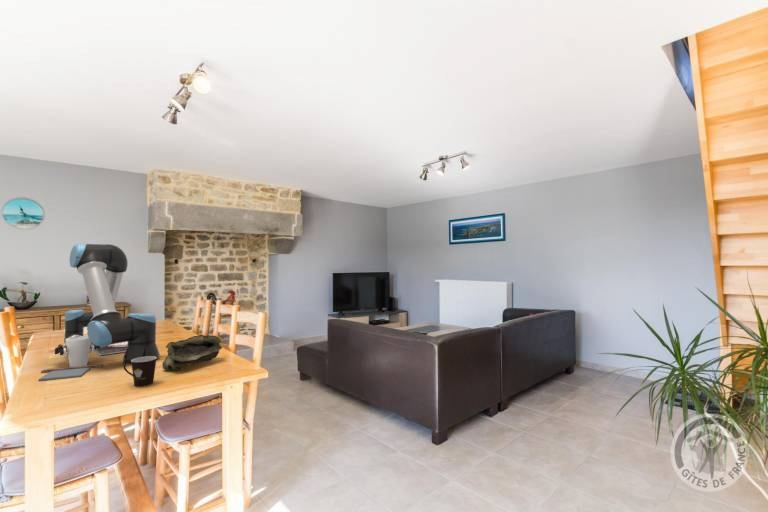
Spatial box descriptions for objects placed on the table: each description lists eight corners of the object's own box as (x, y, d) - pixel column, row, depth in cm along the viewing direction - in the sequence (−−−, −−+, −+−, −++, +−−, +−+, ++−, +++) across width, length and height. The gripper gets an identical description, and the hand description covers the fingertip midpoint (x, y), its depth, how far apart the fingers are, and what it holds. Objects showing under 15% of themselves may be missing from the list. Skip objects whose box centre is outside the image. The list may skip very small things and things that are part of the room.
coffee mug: (161, 382, 149) (161, 357, 150) (139, 388, 142) (139, 363, 142) (143, 378, 154) (143, 354, 154) (121, 384, 147) (121, 359, 147)
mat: (90, 369, 167) (90, 367, 167) (81, 376, 156) (81, 375, 156) (51, 372, 161) (51, 371, 161) (38, 381, 150) (38, 379, 150)
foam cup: (96, 364, 175) (96, 336, 175) (74, 369, 166) (74, 340, 166) (82, 362, 178) (82, 335, 178) (60, 367, 169) (60, 339, 169)
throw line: (103, 366, 171) (103, 364, 171) (102, 367, 169) (102, 365, 169) (42, 372, 162) (42, 369, 162) (41, 373, 161) (41, 370, 161)
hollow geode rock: (218, 367, 186) (207, 343, 192) (230, 352, 181) (218, 328, 187) (161, 381, 162) (150, 353, 168) (173, 364, 158) (161, 336, 164)
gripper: (102, 347, 193) (109, 355, 176) (46, 354, 177) (47, 364, 161) (102, 332, 193) (109, 339, 177) (46, 339, 178) (47, 347, 161)
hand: (79, 351), depth 169 cm, fingers closed on foam cup, 9 cm apart
